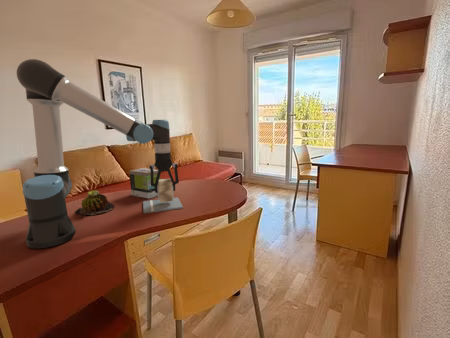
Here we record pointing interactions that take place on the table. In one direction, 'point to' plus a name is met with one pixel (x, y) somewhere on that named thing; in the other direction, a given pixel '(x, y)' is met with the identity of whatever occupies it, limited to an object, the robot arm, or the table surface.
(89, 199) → the cactus
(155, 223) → the table surface
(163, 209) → the board
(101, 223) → the table surface
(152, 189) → the tea box
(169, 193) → the beech block
